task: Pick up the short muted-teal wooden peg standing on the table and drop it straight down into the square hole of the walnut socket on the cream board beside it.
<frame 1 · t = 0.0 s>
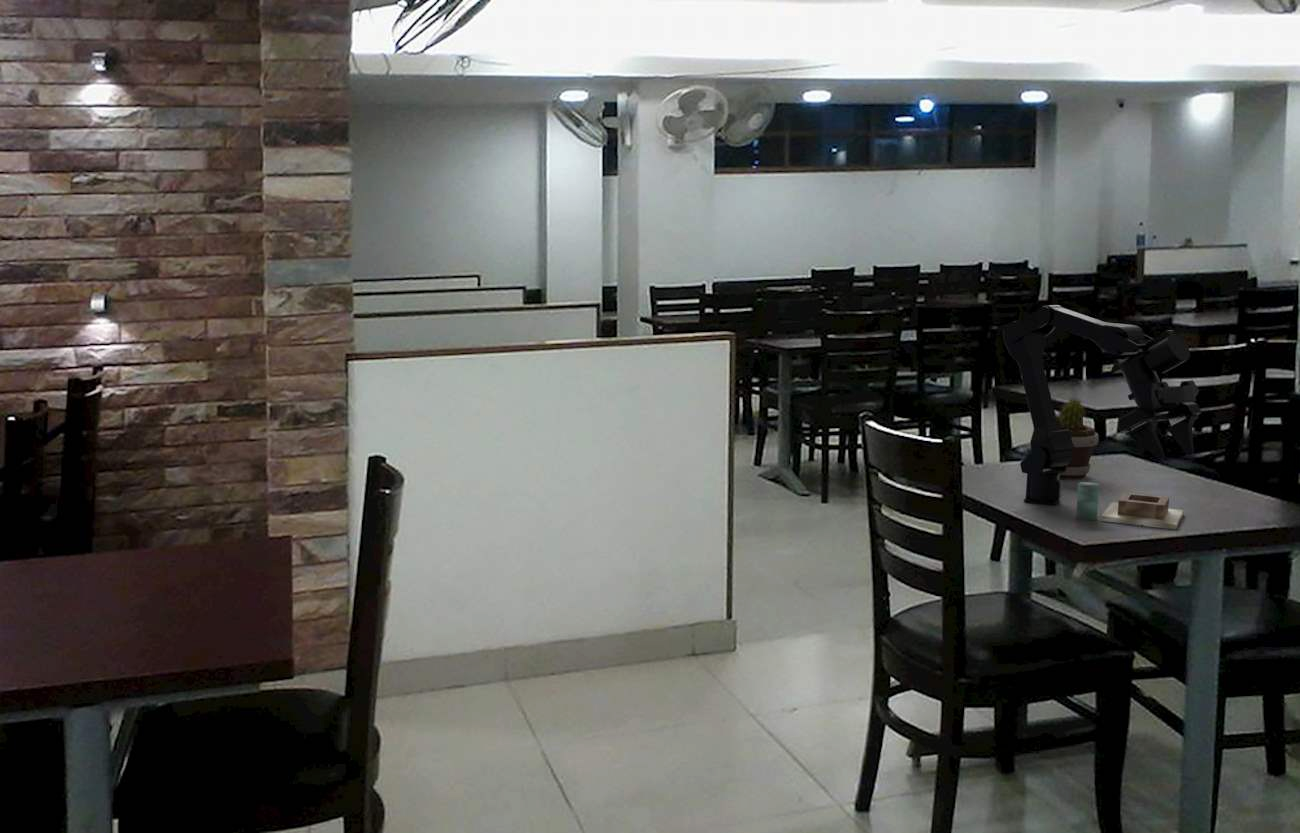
hand: (1177, 457, 247), 15 cm above the table, tool tilted 35°, fingers open, 9 cm apart
peg: (1086, 518, 260), on the table
flowerpot: (1062, 476, 302), on the table
socket board: (1142, 517, 261), on the table
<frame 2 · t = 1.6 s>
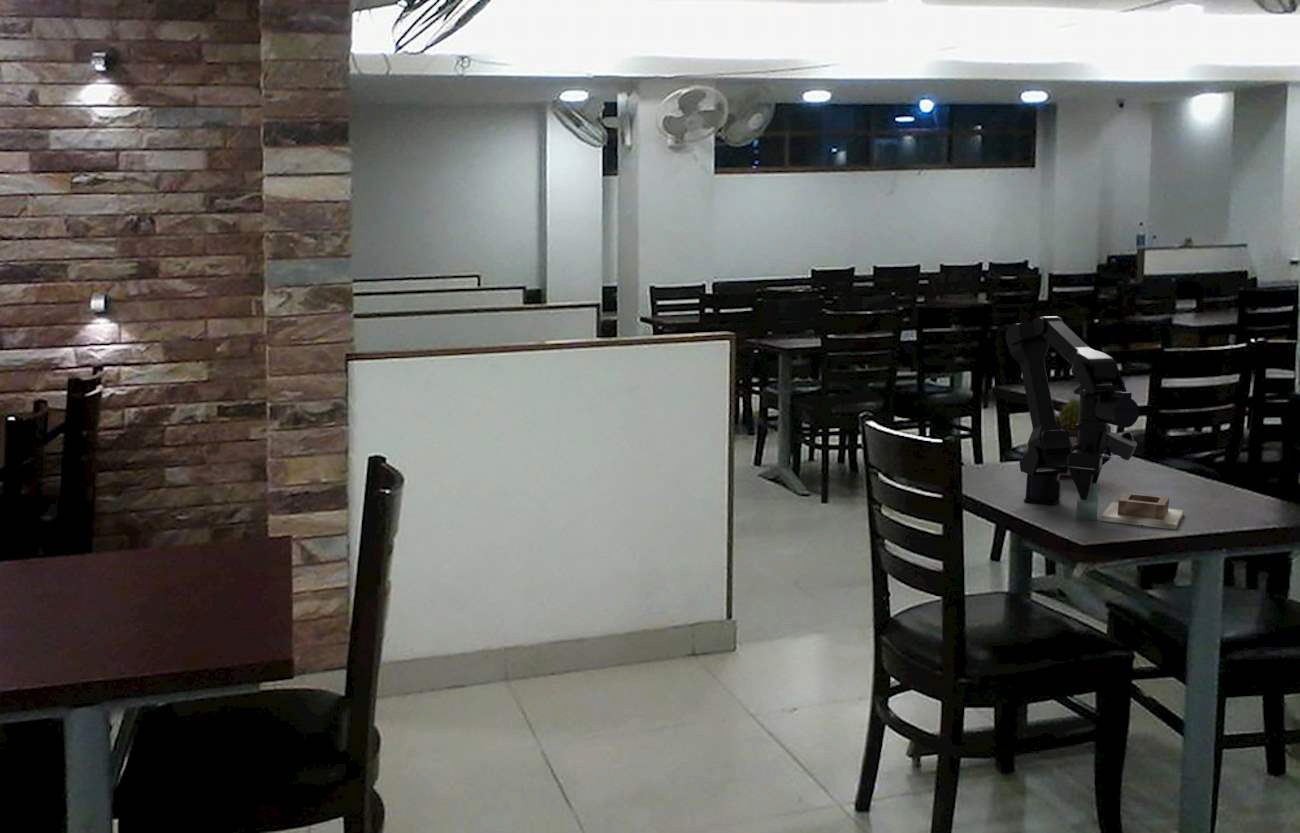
hand: (1087, 495, 260), 5 cm above the table, tool pointing down, fingers open, 9 cm apart
nothing on the table moved.
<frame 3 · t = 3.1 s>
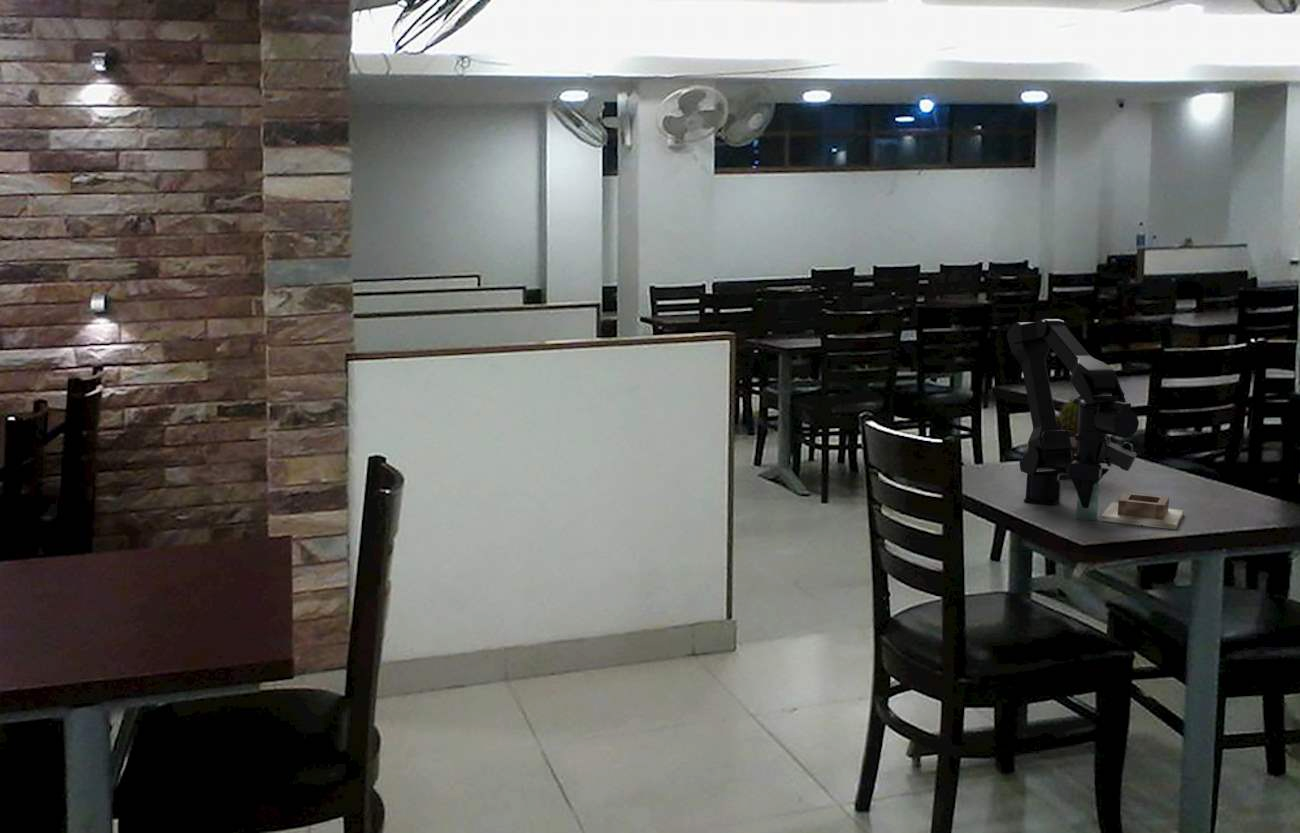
hand: (1087, 505, 260), 3 cm above the table, tool pointing down, fingers closed on peg, 4 cm apart
peg: (1086, 517, 260), on the table, touching gripper
everything else where it was.
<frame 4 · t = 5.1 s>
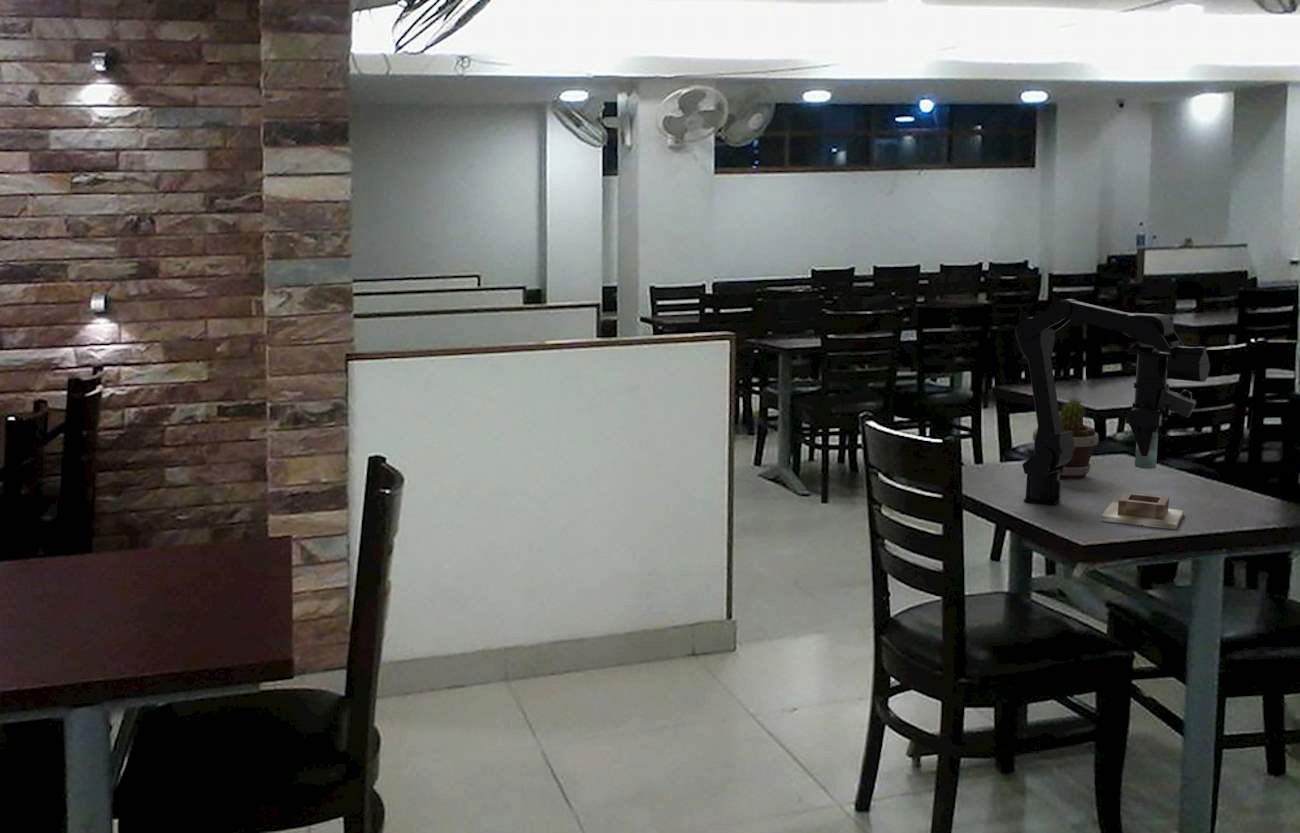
hand: (1146, 454, 259), 13 cm above the table, tool pointing down, fingers closed on peg, 4 cm apart
peg: (1145, 466, 259), point 11 cm above the table, touching gripper
everything else where it was.
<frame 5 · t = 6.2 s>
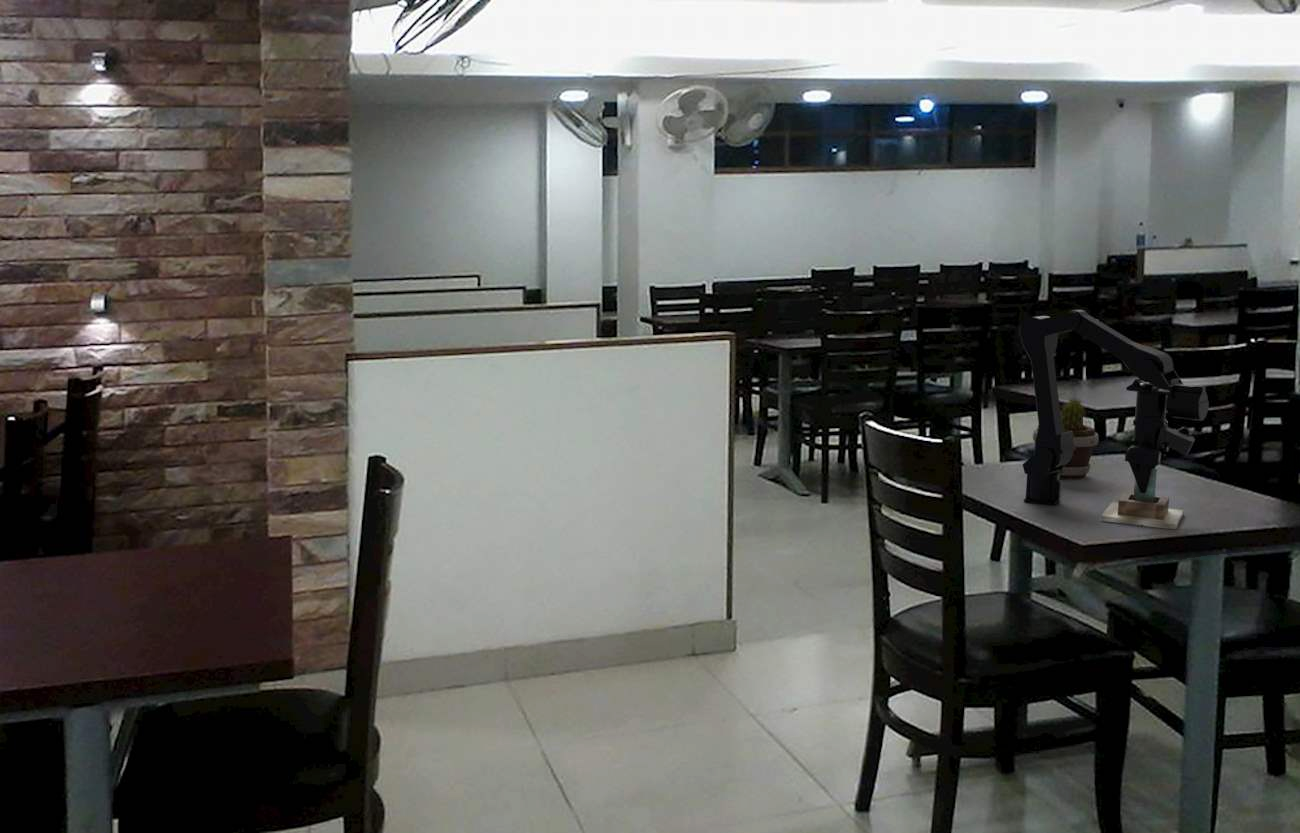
hand: (1144, 490, 260), 6 cm above the table, tool pointing down, fingers closed on peg, 4 cm apart
peg: (1143, 502, 260), point 3 cm above the table, touching gripper
everything else where it was.
when the fingers open (5 cm above the table, at t = 7.3 s): peg drops 1 cm, resting on socket board.
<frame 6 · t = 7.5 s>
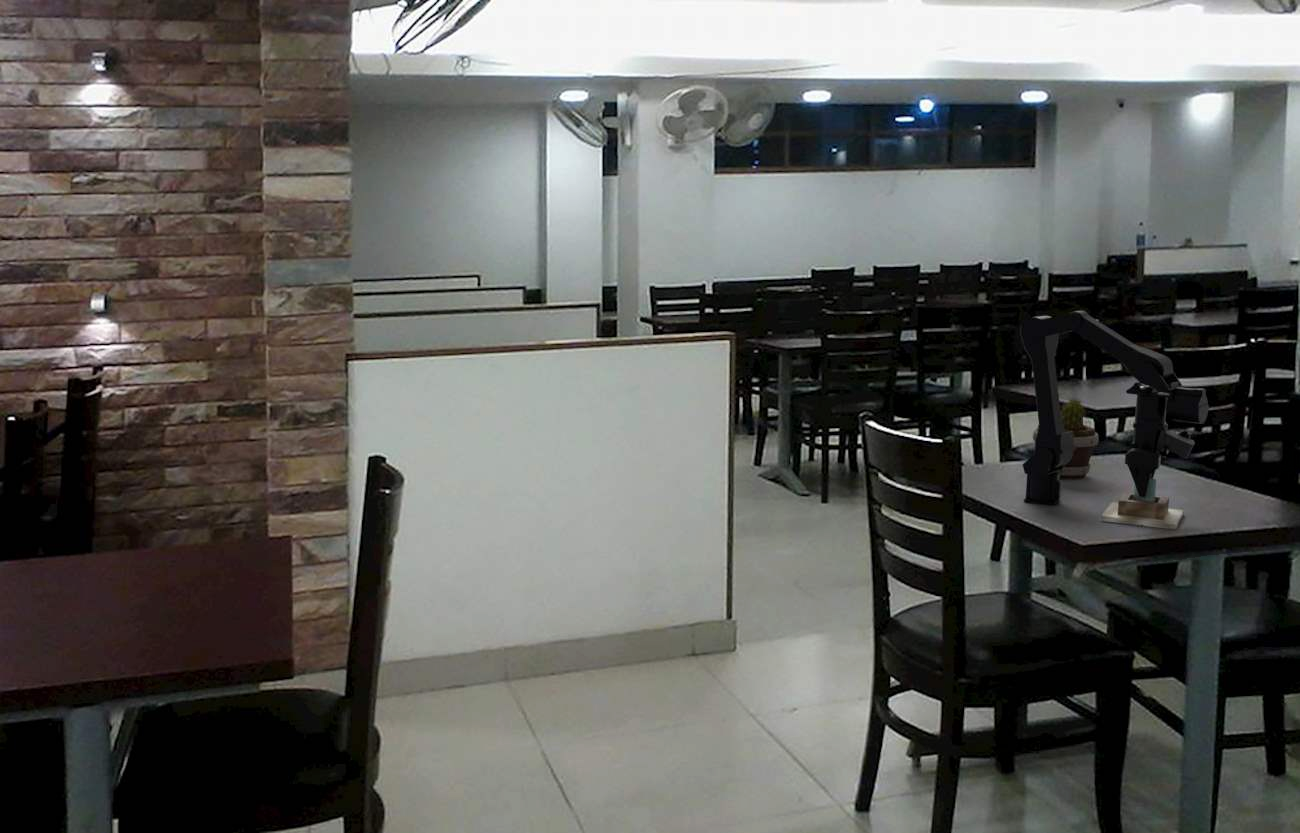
hand: (1144, 493, 260), 5 cm above the table, tool pointing down, fingers open, 6 cm apart
peg: (1143, 512, 261), point 1 cm above the table, touching socket board
everything else where it was.
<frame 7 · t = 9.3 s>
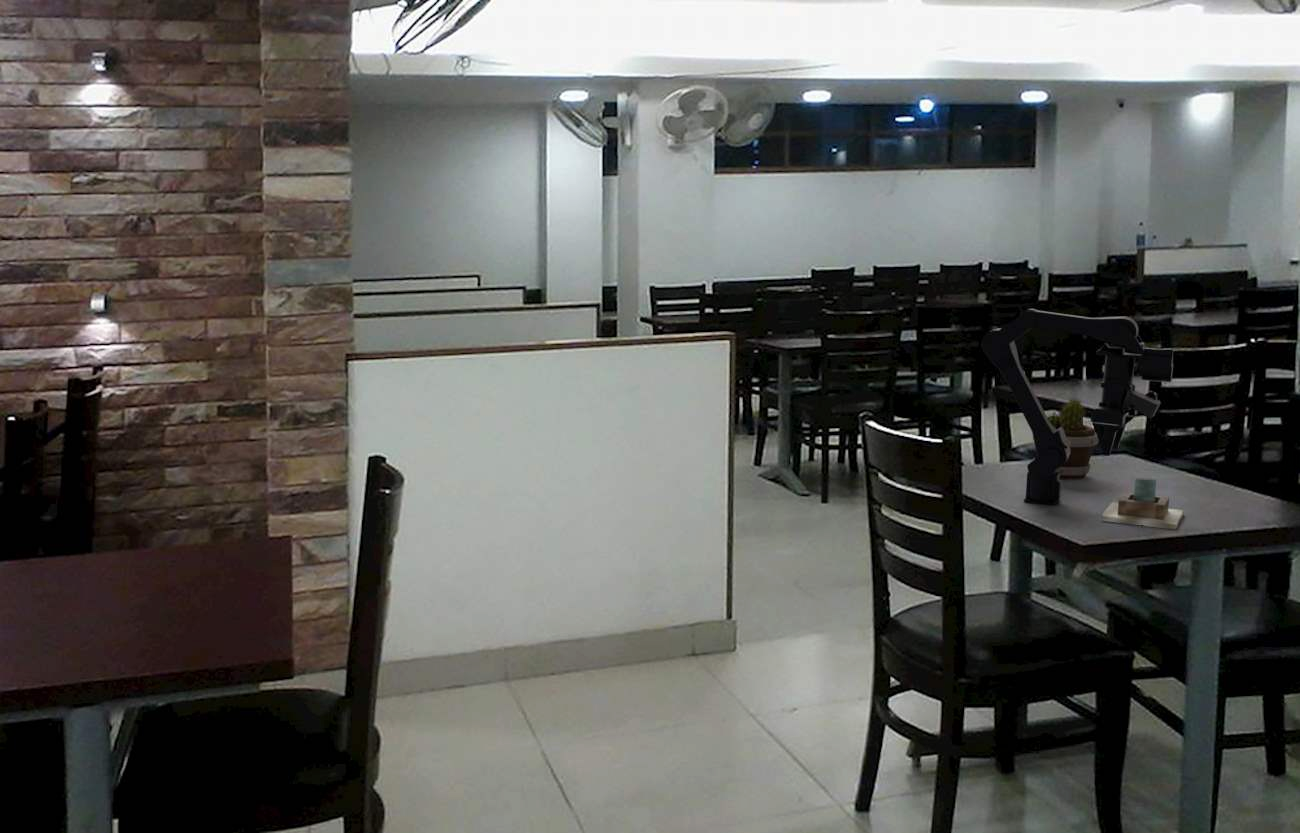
hand: (1110, 452, 268), 12 cm above the table, tool pointing down, fingers open, 9 cm apart
nothing on the table moved.
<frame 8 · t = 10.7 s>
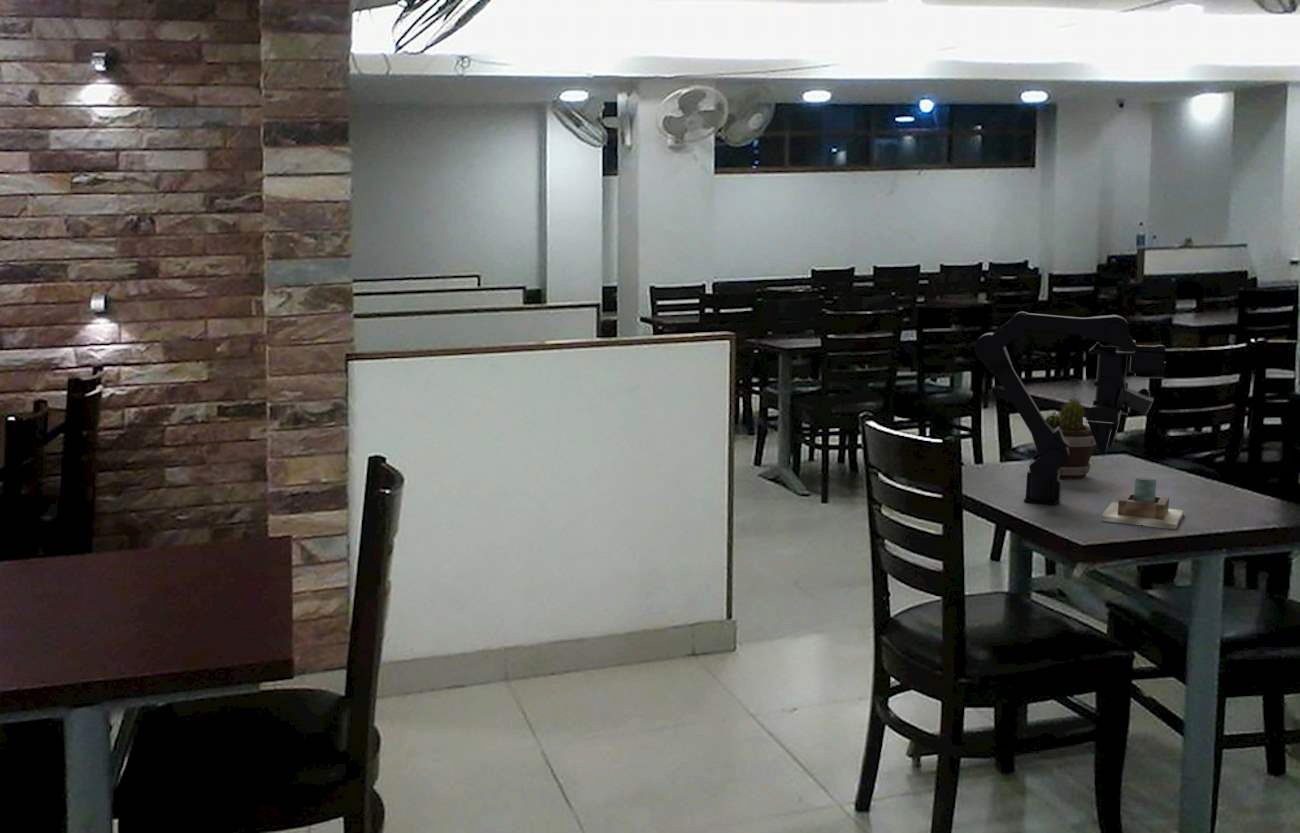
hand: (1105, 449, 269), 12 cm above the table, tool pointing down, fingers open, 9 cm apart
nothing on the table moved.
at the end: peg 0.0 cm off-centre on the socket board, point 1.0 cm above the socket board's base; peg tilted 1°; the gripper is holding nothing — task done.
